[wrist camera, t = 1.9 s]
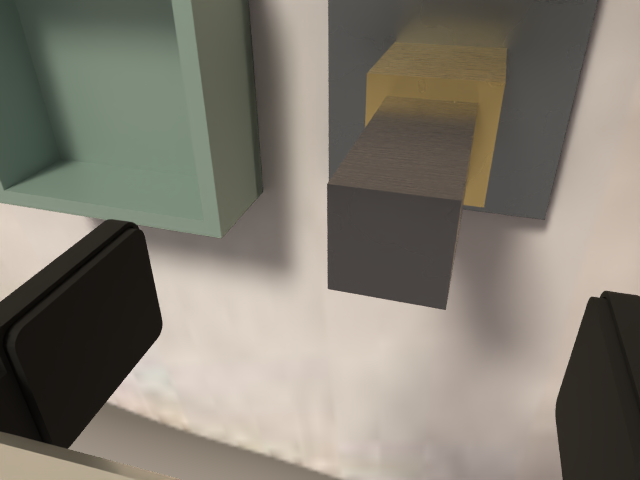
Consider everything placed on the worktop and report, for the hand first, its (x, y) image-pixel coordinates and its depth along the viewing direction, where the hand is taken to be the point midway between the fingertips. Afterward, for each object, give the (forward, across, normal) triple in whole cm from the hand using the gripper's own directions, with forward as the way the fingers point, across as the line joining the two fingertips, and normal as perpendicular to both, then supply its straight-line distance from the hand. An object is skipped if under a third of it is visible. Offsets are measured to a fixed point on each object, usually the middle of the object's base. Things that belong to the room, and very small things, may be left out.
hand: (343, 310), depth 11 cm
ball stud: (+15, -1, 0) cm, 15 cm away
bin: (+15, +15, -1) cm, 21 cm away
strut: (+14, -1, 0) cm, 14 cm away
